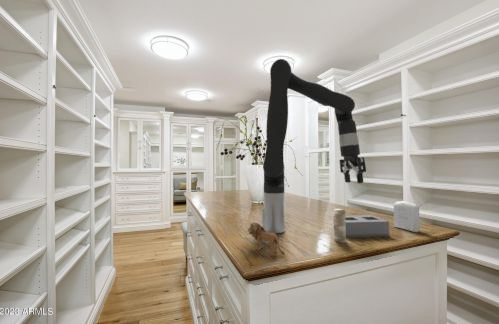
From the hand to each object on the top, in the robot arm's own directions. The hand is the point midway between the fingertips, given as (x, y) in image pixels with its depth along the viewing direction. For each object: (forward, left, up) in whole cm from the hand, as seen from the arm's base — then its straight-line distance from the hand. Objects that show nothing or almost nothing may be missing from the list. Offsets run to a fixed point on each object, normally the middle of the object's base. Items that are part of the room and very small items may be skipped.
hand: (354, 182), depth 100 cm
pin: (-3, -13, -22) cm, 25 cm away
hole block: (+2, +3, -22) cm, 22 cm away
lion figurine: (-23, -36, -22) cm, 49 cm away
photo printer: (+19, +19, -22) cm, 35 cm away
